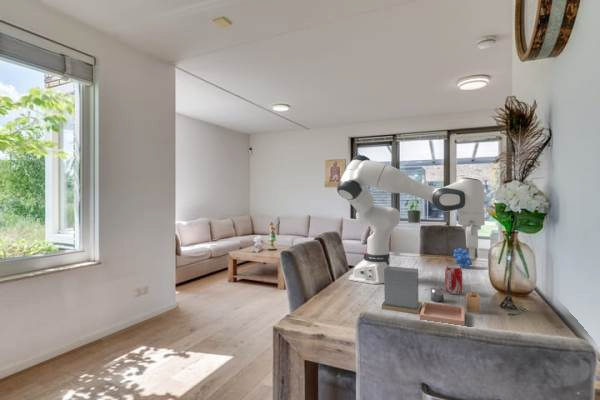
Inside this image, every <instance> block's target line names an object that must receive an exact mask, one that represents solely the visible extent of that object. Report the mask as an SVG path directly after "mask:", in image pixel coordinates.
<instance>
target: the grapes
mask: <svg viewBox="0 0 600 400" xmlns="http://www.w3.org/2000/svg"><path fill="white" fill-rule="evenodd" d="M453 252H454V253H453V255H452V256H453V259H455V264H456V265H458V266H460V267H461V269H464V268H465V269H469V268H470V266H471V265H472V264H473V262H472V259H470V258H469V250H467V249H463V248H462V247H458V248H455V249H454V251H453Z"/></svg>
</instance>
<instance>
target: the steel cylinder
mask: <svg viewBox="0 0 600 400" xmlns="http://www.w3.org/2000/svg"><path fill="white" fill-rule="evenodd" d="M444 291H445V290H444V288H443V287H438V286H432V287H430V301H432V303H436V304H440V303H441V304H443V303H444V301H445V292H444Z"/></svg>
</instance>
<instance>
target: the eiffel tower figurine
mask: <svg viewBox="0 0 600 400" xmlns="http://www.w3.org/2000/svg"><path fill="white" fill-rule="evenodd" d="M507 276H508V277H507V285H506V286H507V287H506V293H505V297H504V298H503V300H502V301H501V302H500V304H498V306H499V307H500V308H501V310H504V311H515V312H518V313H509V312H508V313H507V315H508V316H511V317H513V316H517V315H520V314H522V313H526V312H529V311H528V310H527V309H528V308H527V307H526V308H527V309H526V308H524V307H525V306H522V305H518V306H516V305H517V303H515V301H514V300H513V297H512V293H511V287H510V276H509V275H507ZM525 310H527V311H525Z"/></svg>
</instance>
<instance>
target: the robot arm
mask: <svg viewBox="0 0 600 400" xmlns="http://www.w3.org/2000/svg"><path fill="white" fill-rule="evenodd" d="M367 186H369V187H372V188H374V189H377V190H379V191H383V192H386V193H391V194H408V195H410V196H414V197H416V198H420V199H422V200H425V201H427V202H429V203H431V204H432V205H433V206H434V208H435V209H437V210H438V211H441V212H444V213H446V212H452V211H455V210H457V216H458V217H457V218H458V219H457V220H458V221H457V222H458V223H457V225H459V226H461V229H462V230H464V235H465V236H464V237H465V245H466V246H465V247H466V248H467V249H468V254H469V258H470V259H471V260H475V259H476V249H478V247H479V234H478V233H479V230H481V229H482V226H485V225H486V222H485V221H486V220H485V219H486V218H485V216H486V215H485V213H486V212H485V209H484V204H485V189H484V184H483V182H482V181H481V180H480V179H478V178H472V177H461V178H459V179H458V180H456V181H454V182H453V183H451V184H448V185H446V186H442V187H440V186H439V187H435V186H432V185H429V184H426V183H423V182H420V181H418V180H415V179H413V178H412V177H410V176H409V175H407V174H406V173H405V172H404V171H402V170H400V169H399V168H396V167H395V166H392V165H390V164H388V163H384V162H381V161H376V160H371V159H370V158H369V157H367V156H366V155H362V154H359V155H355V156H354V157H353V158H352V159H351V161H350V162H349V164H348V165H347V167H346V168H345V170H344V171H343V173H342V176H341V178H340V181H339V182H338V184H337V186H336V187H337V188H336V190H337V193H338V195H340V197H341V198H343V199H346V200H347V202H348V203H349V204H350V205H351V206H352V207H353V208H354V210H355V211H356V213H355V219H356V221H357V222H358V224H359V225H362V226H365V227H372V228H374V229H373V233H372V234H371V235H369V236H368V237H367V239H366V247H367V248H366V252H364V254H363V260H362V261H360V262H358V264H356V265H355V266H354V269H353V273H351V274H350V275H349V276H348V280H349V281H352V282H353V281H354V282H358V283H364V284H370V285H379V284H380V285H381V284H384V269H385V268H386V267H387V266H390V267H391V265H390V264H391V255H390V247H389V245H390V238H391V237H390V236H391V235H392V231H393V230H394V229H395V228H396V227H398V225H399V224H400V223H401V214H400V213H401V212H400V211H399V210H398V208H395V207H393V206H392V207H391V206H384V205H383V206H379V205H378V206H377V205H375V204H374V202H375V197H374V195H373V194H372V192H370V191H369V189H368V188H367Z"/></svg>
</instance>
